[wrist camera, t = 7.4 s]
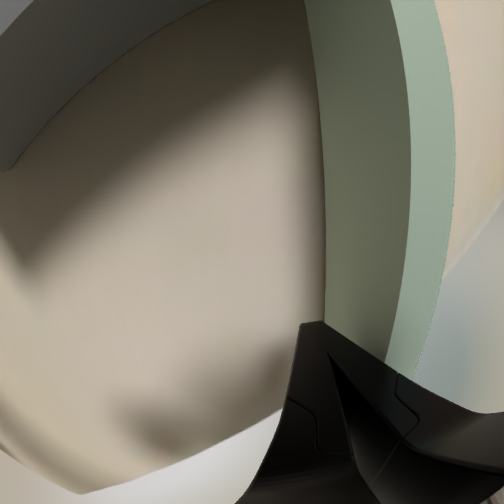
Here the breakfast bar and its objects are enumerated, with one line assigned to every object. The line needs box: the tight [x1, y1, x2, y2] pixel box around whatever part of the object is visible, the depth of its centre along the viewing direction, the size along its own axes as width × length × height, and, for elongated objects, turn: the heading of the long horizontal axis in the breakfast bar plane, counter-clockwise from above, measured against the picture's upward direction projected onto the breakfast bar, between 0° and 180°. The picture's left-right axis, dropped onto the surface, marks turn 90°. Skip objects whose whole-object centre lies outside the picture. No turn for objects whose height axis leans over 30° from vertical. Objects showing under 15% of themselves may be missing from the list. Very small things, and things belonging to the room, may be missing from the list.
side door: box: [304, 0, 455, 380], centre depth 8 cm, size 20×1×6 cm, turn 6°
